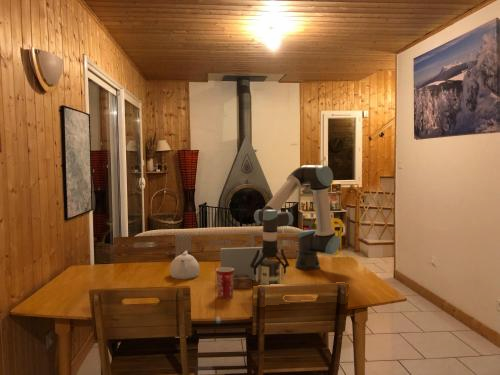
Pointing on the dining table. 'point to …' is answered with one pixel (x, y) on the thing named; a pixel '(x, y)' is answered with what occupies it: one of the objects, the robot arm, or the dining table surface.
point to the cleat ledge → (242, 281)
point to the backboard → (241, 260)
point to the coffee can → (269, 272)
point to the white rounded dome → (184, 267)
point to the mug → (225, 282)
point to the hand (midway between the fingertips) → (269, 280)
